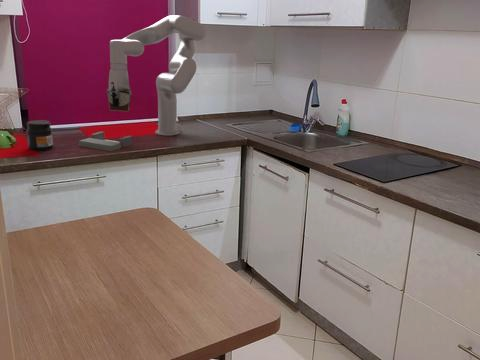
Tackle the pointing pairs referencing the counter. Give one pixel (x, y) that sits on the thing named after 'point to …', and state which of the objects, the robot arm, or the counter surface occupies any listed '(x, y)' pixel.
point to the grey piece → (105, 142)
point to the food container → (120, 100)
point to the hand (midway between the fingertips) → (120, 105)
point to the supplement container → (39, 135)
